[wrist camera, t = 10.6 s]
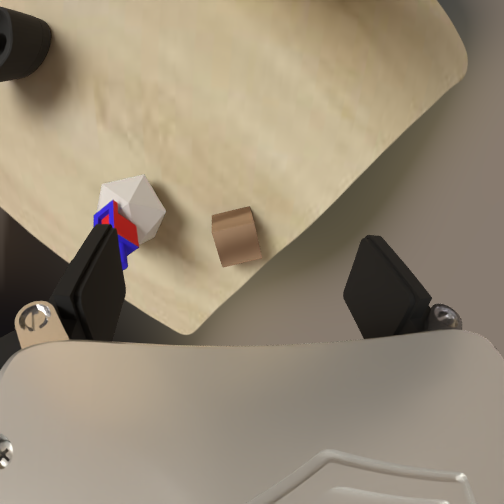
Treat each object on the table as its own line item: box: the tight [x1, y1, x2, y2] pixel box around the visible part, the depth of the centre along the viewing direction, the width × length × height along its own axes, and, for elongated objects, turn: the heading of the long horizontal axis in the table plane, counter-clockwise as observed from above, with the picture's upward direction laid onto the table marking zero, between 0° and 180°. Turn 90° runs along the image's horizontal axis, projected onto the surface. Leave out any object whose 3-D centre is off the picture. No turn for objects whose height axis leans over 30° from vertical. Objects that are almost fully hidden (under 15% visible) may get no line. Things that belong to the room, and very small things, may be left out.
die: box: [96, 174, 166, 245], centre depth 33 cm, size 8×9×10 cm
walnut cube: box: [212, 206, 262, 267], centre depth 38 cm, size 5×5×5 cm
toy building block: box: [94, 200, 139, 270], centre depth 27 cm, size 3×4×7 cm
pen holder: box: [0, 7, 51, 82], centre depth 18 cm, size 9×9×10 cm
